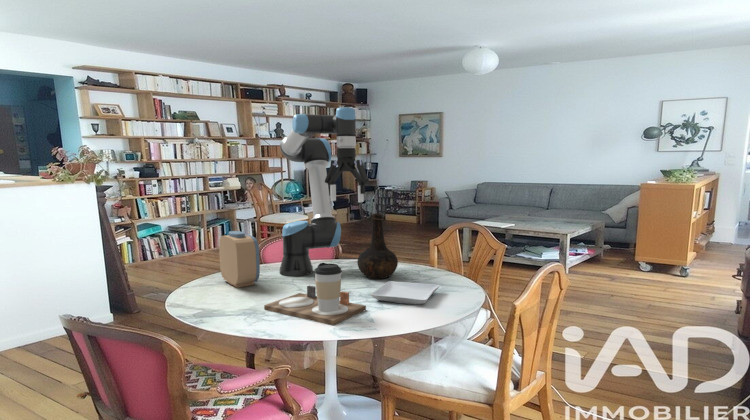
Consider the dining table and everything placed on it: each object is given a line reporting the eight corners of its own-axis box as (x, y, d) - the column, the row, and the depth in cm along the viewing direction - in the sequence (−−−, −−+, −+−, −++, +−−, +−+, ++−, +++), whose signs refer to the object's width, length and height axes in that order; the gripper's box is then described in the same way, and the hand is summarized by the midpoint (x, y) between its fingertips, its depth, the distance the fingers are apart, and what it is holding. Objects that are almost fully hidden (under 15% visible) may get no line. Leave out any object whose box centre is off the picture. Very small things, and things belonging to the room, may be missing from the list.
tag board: (264, 309, 162) (263, 293, 162) (299, 296, 177) (299, 282, 177) (333, 325, 146) (333, 308, 145) (365, 309, 161) (365, 294, 161)
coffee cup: (347, 308, 157) (347, 264, 156) (327, 314, 150) (326, 268, 149) (329, 302, 163) (329, 260, 162) (309, 308, 157) (308, 264, 155)
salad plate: (369, 303, 170) (369, 293, 170) (388, 288, 190) (388, 280, 190) (426, 309, 163) (426, 299, 163) (440, 293, 183) (440, 284, 182)
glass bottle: (384, 270, 220) (383, 210, 217) (405, 278, 205) (405, 214, 202) (350, 275, 211) (349, 213, 208) (370, 283, 196) (370, 216, 193)
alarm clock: (260, 286, 193) (259, 234, 190) (238, 290, 187) (236, 236, 185) (241, 276, 209) (240, 228, 207) (220, 280, 203) (218, 230, 201)
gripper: (315, 148, 189) (316, 200, 191) (367, 146, 176) (367, 203, 178) (327, 148, 195) (328, 199, 197) (378, 147, 182) (378, 202, 184)
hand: (346, 201), depth 188 cm, fingers open, 13 cm apart
